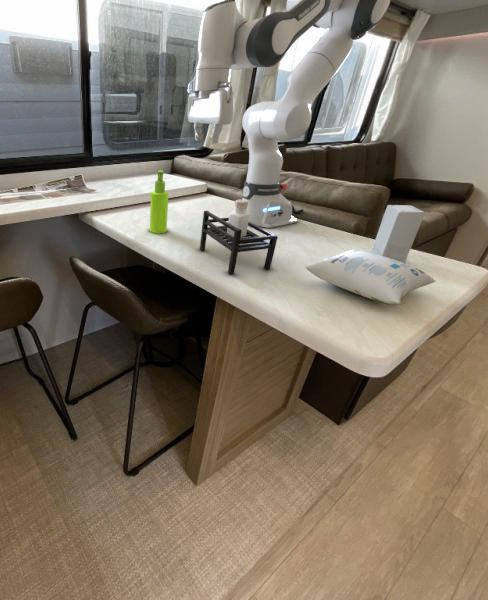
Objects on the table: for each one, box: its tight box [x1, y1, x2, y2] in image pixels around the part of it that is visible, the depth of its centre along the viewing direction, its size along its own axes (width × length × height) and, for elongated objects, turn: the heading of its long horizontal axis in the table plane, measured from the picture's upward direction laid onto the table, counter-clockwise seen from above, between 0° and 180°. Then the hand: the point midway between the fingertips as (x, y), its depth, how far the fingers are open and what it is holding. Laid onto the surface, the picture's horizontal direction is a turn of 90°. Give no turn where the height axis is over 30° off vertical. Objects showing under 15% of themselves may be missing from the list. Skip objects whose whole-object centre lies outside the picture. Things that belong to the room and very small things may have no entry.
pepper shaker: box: [227, 198, 250, 238], centre depth 87 cm, size 4×4×10 cm
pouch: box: [304, 249, 437, 305], centre depth 75 cm, size 8×19×20 cm
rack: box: [199, 210, 279, 276], centre depth 90 cm, size 12×18×12 cm, turn 15°
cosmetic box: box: [370, 204, 426, 264], centre depth 87 cm, size 8×6×15 cm
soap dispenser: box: [149, 169, 169, 234], centre depth 110 cm, size 6×7×20 cm
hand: (205, 141), depth 92 cm, fingers open, 8 cm apart
